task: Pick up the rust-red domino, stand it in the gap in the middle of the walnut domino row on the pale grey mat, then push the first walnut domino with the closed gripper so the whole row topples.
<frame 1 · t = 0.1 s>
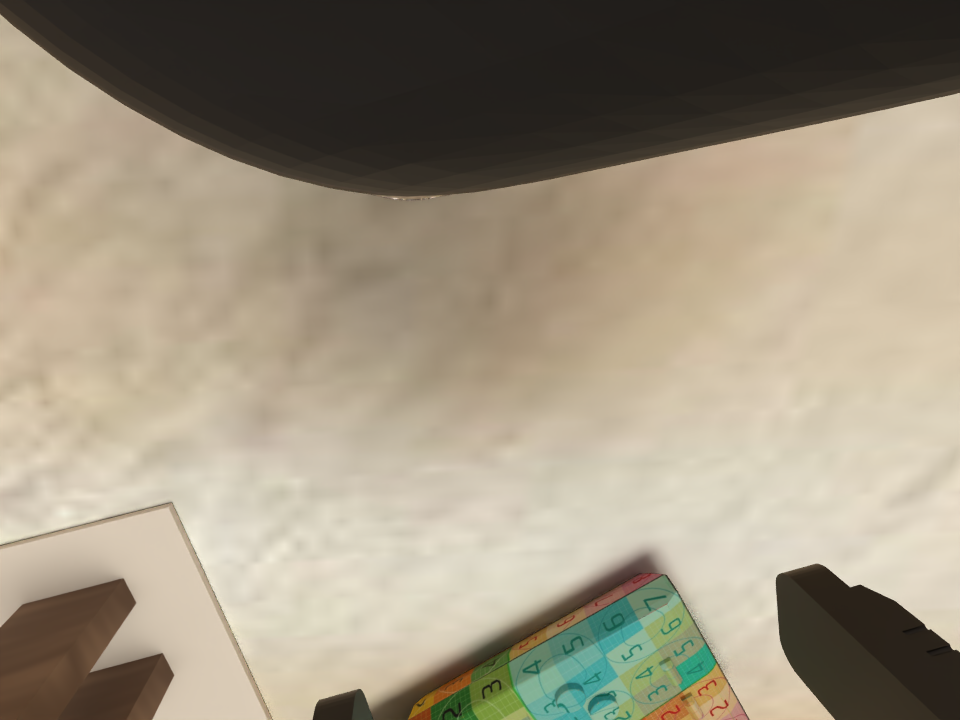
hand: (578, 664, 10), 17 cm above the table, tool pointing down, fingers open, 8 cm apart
domino 2: (121, 676, 28), resting on mat
puzzle game: (544, 686, 33), on the table
domino 1: (80, 603, 27), resting on mat
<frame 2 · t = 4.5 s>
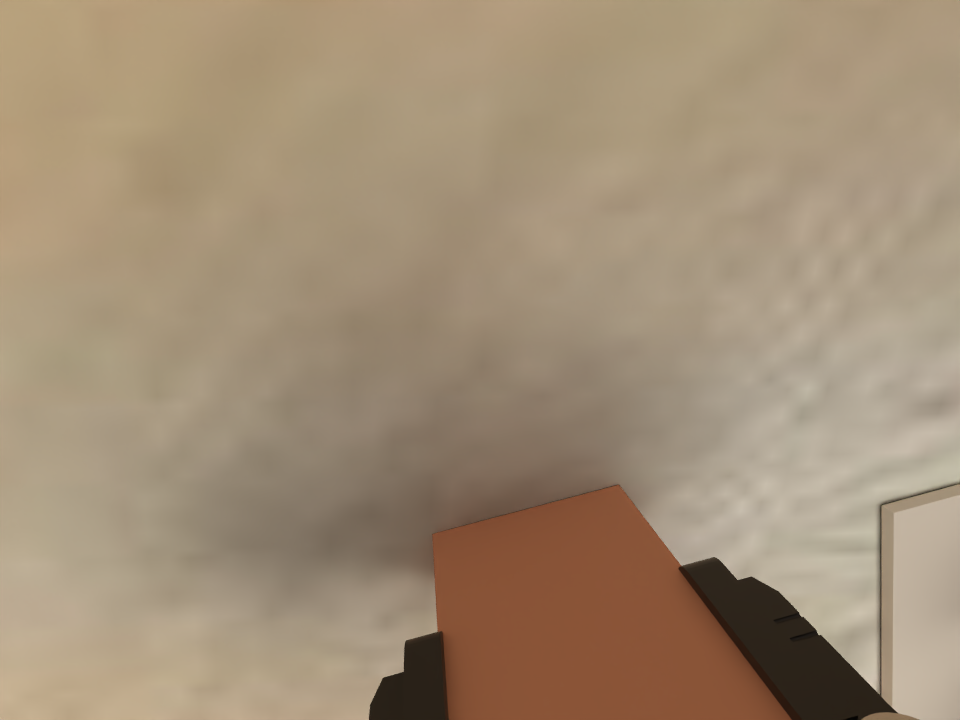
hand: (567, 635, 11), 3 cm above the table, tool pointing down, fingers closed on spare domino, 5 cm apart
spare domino: (532, 535, 14), on the table, touching gripper
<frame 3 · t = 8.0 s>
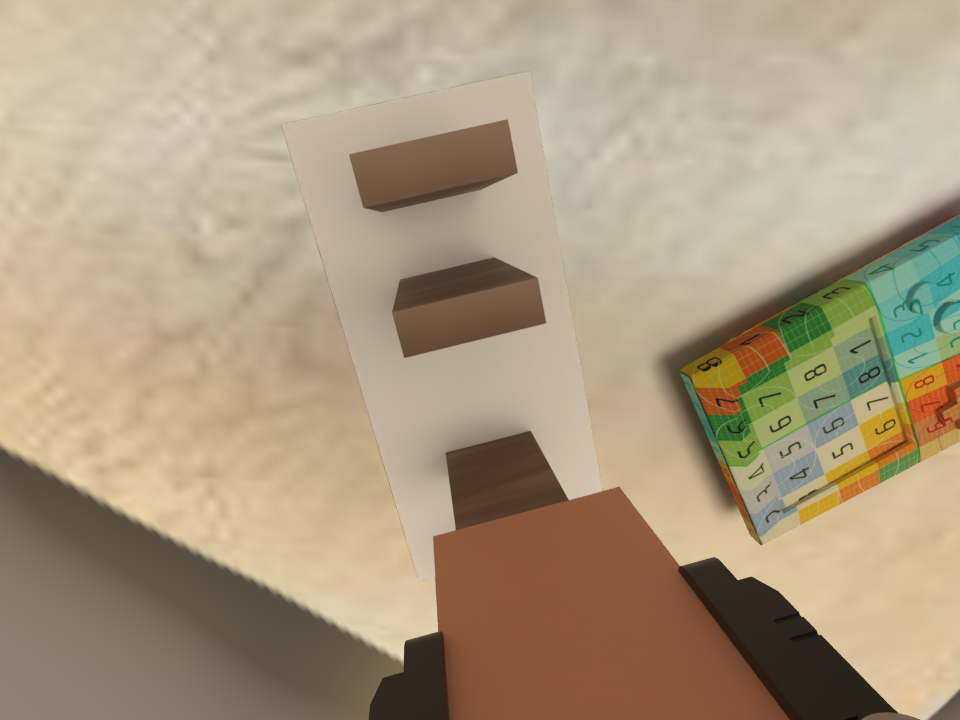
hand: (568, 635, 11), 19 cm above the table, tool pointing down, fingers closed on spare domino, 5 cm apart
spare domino: (532, 537, 14), point 16 cm above the table, touching gripper
mat: (467, 353, 29), on the table
domino 2: (450, 283, 27), resting on mat
domino 4: (491, 454, 30), resting on mat
puzzle game: (834, 358, 32), on the table
domino 1: (427, 184, 26), resting on mat
when the fingers open (5 cm above the table, at t = 11.9 s): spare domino stays where it is, resting on mat.
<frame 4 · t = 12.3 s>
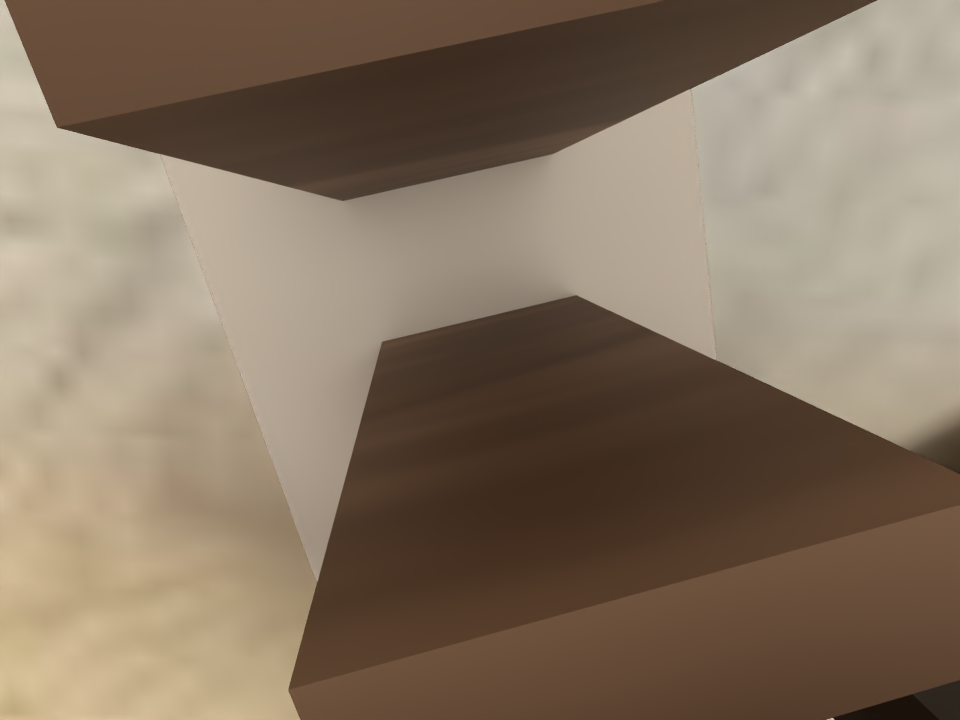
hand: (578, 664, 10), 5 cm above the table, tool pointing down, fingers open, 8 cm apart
mat: (514, 478, 15), on the table
domino 2: (486, 348, 13), resting on mat
domino 1: (440, 140, 12), resting on mat
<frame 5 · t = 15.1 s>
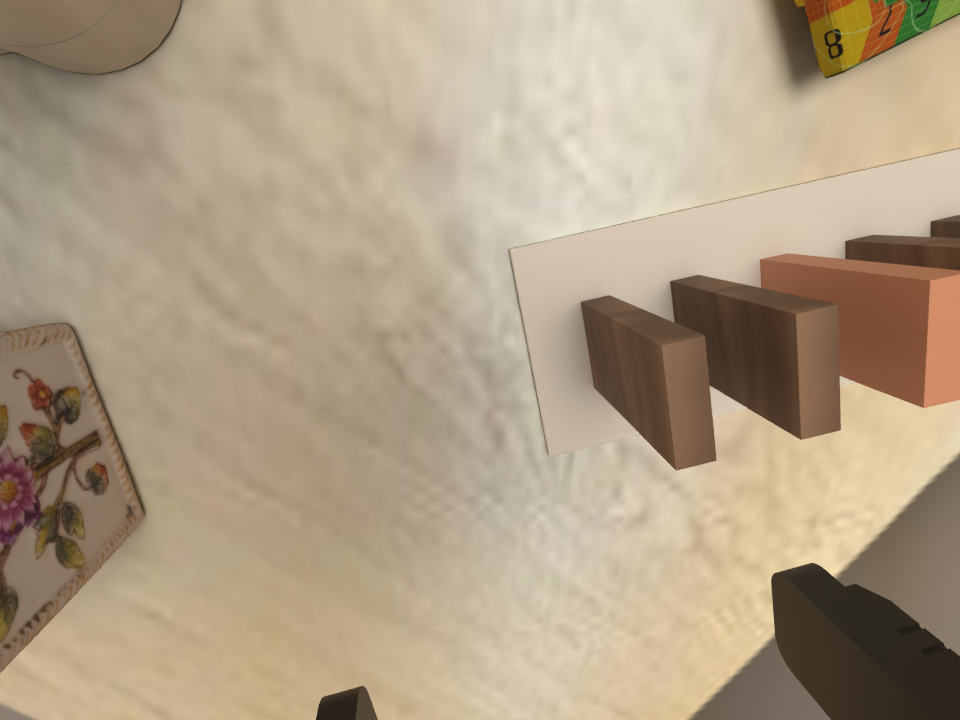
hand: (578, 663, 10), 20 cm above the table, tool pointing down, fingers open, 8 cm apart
decorative jar: (5, 440, 28), on the table
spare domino: (775, 301, 29), resting on mat
domino 5: (942, 263, 30), resting on mat
mat: (753, 305, 30), on the table
domino 2: (688, 322, 29), resting on mat
domino 4: (859, 282, 29), resting on mat
domino 1: (601, 342, 29), resting on mat
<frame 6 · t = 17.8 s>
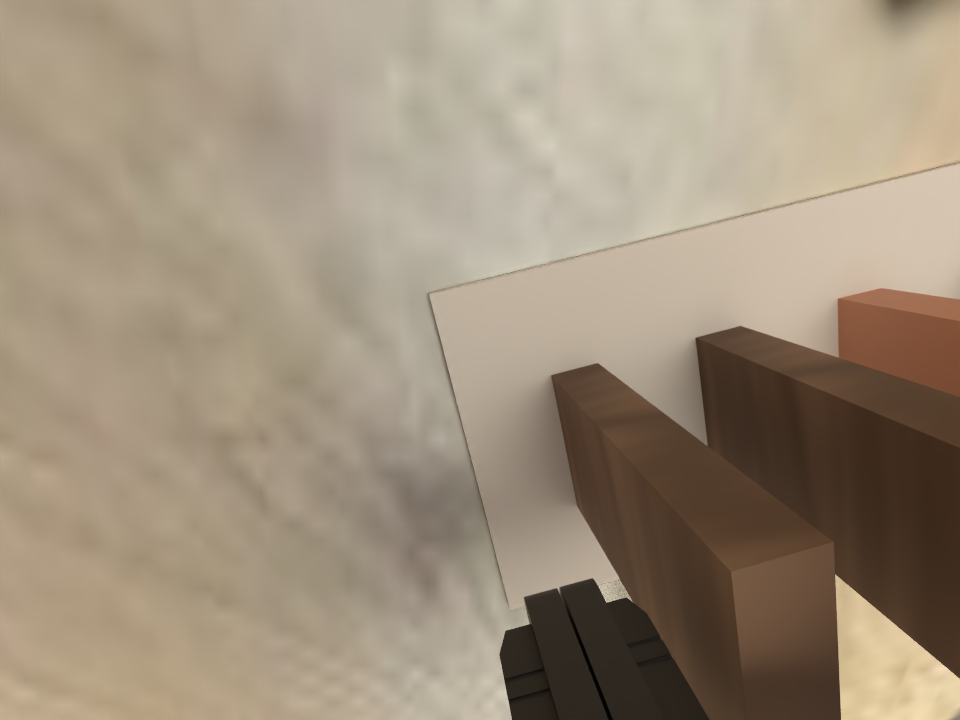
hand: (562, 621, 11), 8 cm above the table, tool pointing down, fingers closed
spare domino: (859, 362, 18), resting on mat
mat: (823, 368, 19), on the table
domino 2: (725, 400, 18), resting on mat
domino 1: (587, 437, 18), resting on mat, touching gripper
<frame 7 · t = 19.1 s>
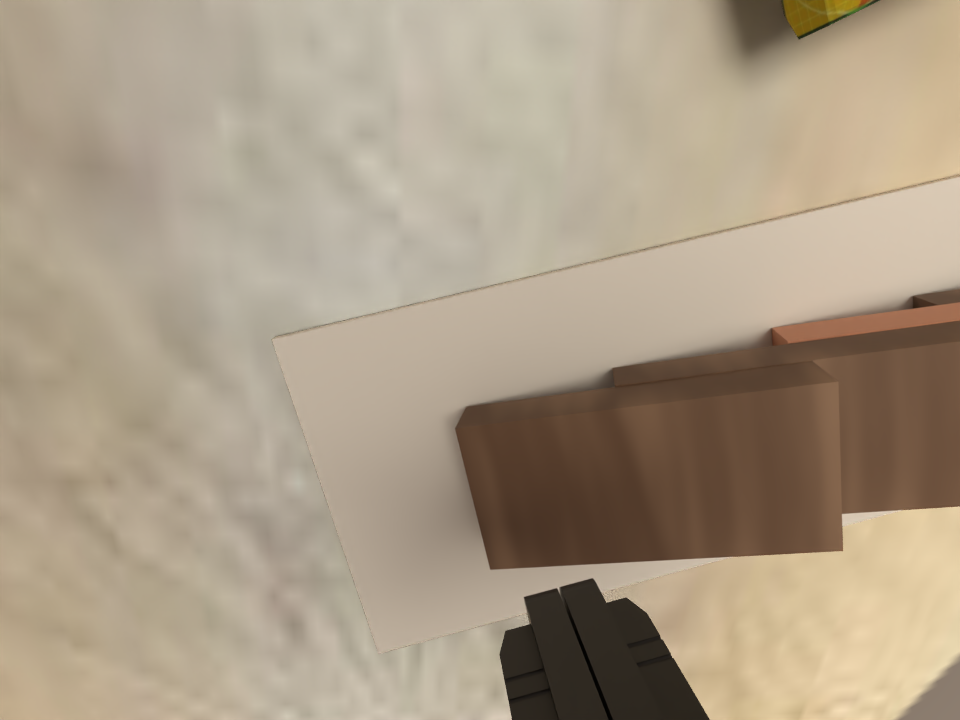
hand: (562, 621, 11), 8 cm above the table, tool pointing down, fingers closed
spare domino: (782, 405, 17), point 1 cm above the table, tilted 71°, touching domino 2, domino 4, mat
mat: (696, 412, 18), on the table
domino 2: (623, 447, 17), point 1 cm above the table, tilted 72°, touching domino 1, mat, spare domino
domino 4: (925, 372, 18), point 1 cm above the table, tilted 71°, touching domino 5, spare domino
domino 1: (478, 488, 17), point 1 cm above the table, tilted 72°, touching domino 2
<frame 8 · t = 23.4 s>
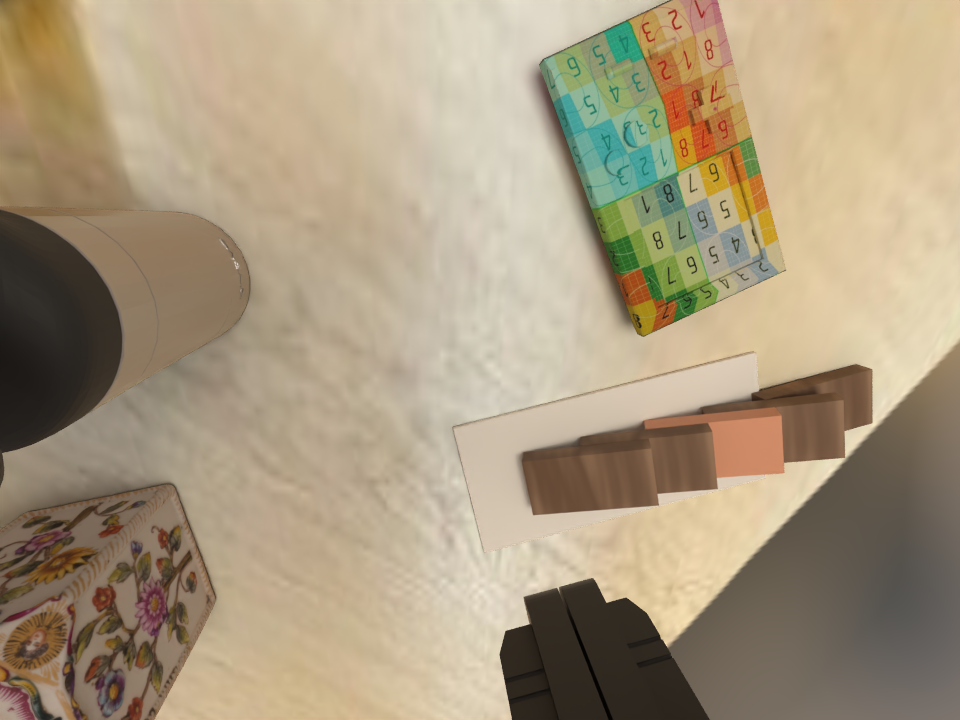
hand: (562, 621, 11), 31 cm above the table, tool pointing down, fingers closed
decorative jar: (127, 554, 42), on the table
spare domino: (648, 451, 44), point 1 cm above the table, tilted 71°, touching domino 2, domino 4, mat
domino 5: (759, 423, 45), point 1 cm above the table, tilted 92°, touching domino 4, mat
mat: (615, 452, 45), on the table
domino 2: (585, 467, 44), point 1 cm above the table, tilted 72°, touching domino 1, mat, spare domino
domino 4: (705, 437, 44), point 1 cm above the table, tilted 71°, touching domino 5, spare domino
puzzle game: (649, 177, 40), on the table
domino 1: (528, 483, 43), point 1 cm above the table, tilted 72°, touching domino 2
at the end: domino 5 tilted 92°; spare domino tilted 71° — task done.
